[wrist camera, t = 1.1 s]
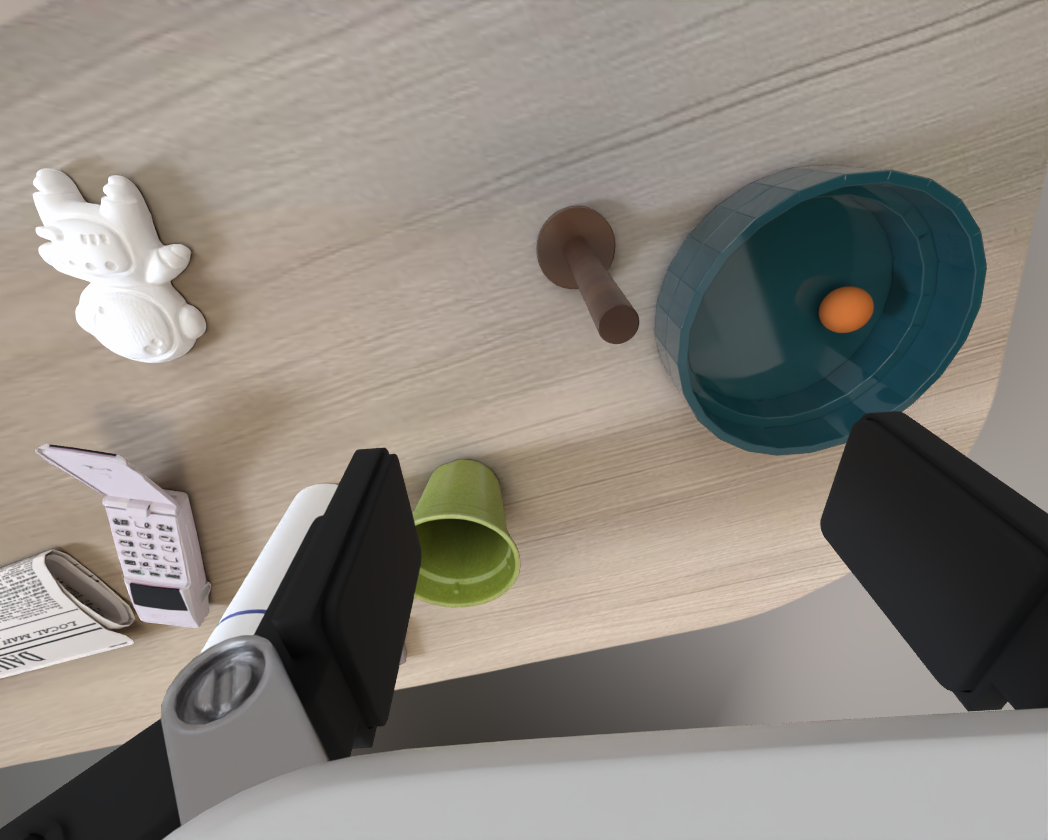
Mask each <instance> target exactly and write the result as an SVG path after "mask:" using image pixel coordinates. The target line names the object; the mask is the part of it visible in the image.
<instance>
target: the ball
mask: <svg viewBox="0 0 1048 840" xmlns="http://www.w3.org/2000/svg"><path fill="white" fill-rule="evenodd" d="M873 309H874V304H873V300H872V298H871V296H870V295H869V294H868V293H867V292H866V291H865V290H863V289H861V288H858V287H853V286H846V287H841V288H838V289H835V290H833V291H832V292H830V293H829V294H828V295H827V296H826V297H825V298H824V299H823V300H822V302H821V304H820V307H819V318H820V321H821V323H822V324H823V325H824V326H825V327H826V328H827V329H829V330H831V331H833V332H837V333H848V332H853V331H855V330H858V329H859V328H861V327H863V326H864V325H865V324H866V323H867V322H868V321H869V319H870V318H871V316H872V314H873Z"/></svg>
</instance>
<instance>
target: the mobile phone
mask: <svg viewBox="0 0 1048 840" xmlns="http://www.w3.org/2000/svg"><path fill="white" fill-rule="evenodd" d="M36 453H37V454H39V455H40V456H42V458H43V459H45V460H46V461H48V462H49V463H51V464H52V465H55V466H57V467H59V468H60V469H62V470H64V471H65V472H67V473H68V474H70V475H72V476H73V477H75V478H76V479H78V480H80V481H81V482H83V483H84V484H86V485H88V486H89V487H91V488H92V489H94V490H96V491H97V492H99V493H100V494H102V495H104V496H105V498H104V499H103V505H104V506H106V511H107V515H108V518H109V522H110V526H111V530H112V534H113V538H114V542H115V546H116V550H117V553H118V557H119V560H120V564H121V567H122V570H123V573H124V581H125V584H126V587H127V590H128V593H129V596H130V599H131V602H132V604H133V606H134V608H135V610H136V612H137V614H138V616H139V618H140V620H142V621H144V622H148V623H157V624H165V625H174V626H183V627H192V628H198V627H199V626H200V625H201V624H202V623H203V622H204V619H205V617H206V616H207V615H208V613H209V601H208V595H209V592H210V590H211V584H210V582H206V577H205V572H204V567H203V562H202V557H201V551H200V546H199V541H198V537H197V532H196V528H195V524H194V519H193V515H192V511H191V506H190V502H189V498H188V495H187V494H186V493H185V492H178V491H171V490H164V489H162V488H160V487H159V486H158V485H157V484H156V483H154V482H153V481H152V480H151V479H150V478H148V477H147V476H146V475H145V474H143V473H142V472H141V471H139V470H138V469H137V468H135V467H134V466H133V465H131V464H130V463H129V462H128V461H127V460H125V459H124V458H123V457H122V456H120V455H117V454H111V453H105V452H98V451H92V450H86V449H79V448H73V447H65V446H57V445H50V444H46V445H43V446H41V447H39V448H37V450H36Z"/></svg>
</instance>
